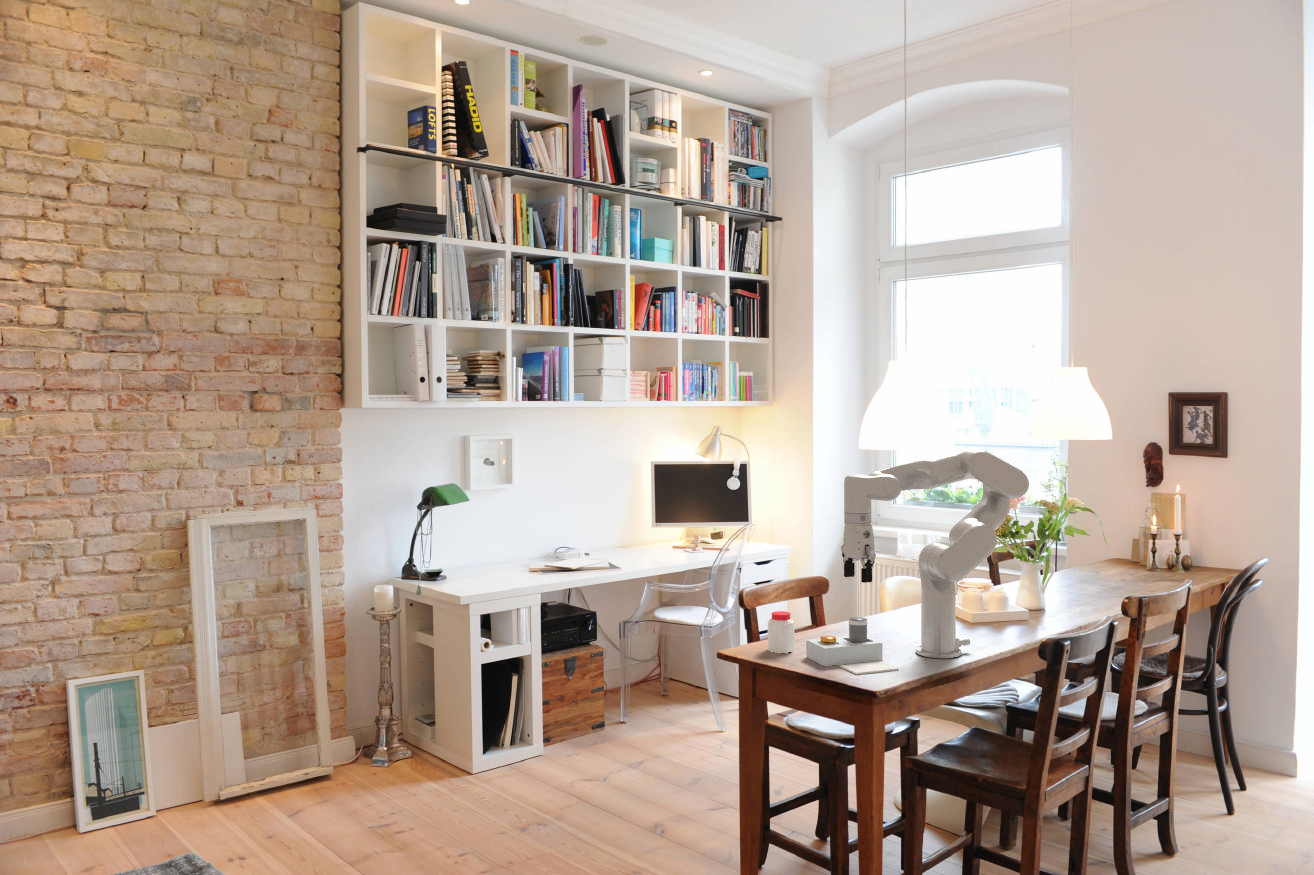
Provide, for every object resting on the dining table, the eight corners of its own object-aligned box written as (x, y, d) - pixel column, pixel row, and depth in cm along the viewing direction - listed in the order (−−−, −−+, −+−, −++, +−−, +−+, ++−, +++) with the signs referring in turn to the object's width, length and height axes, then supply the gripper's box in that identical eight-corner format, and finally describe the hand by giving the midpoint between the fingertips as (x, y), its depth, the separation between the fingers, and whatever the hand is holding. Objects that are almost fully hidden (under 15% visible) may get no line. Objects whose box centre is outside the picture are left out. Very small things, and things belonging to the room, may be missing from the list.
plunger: (831, 656, 287) (831, 635, 287) (839, 660, 283) (839, 638, 283) (817, 657, 285) (817, 636, 285) (825, 661, 281) (825, 639, 281)
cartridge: (861, 654, 291) (861, 616, 290) (871, 658, 286) (870, 620, 285) (845, 656, 289) (845, 617, 288) (854, 660, 284) (854, 621, 284)
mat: (881, 662, 281) (881, 661, 281) (898, 670, 273) (898, 668, 273) (840, 667, 277) (840, 665, 277) (856, 674, 269) (856, 673, 269)
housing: (862, 651, 294) (861, 634, 294) (882, 660, 284) (882, 642, 283) (806, 657, 288) (806, 639, 288) (825, 666, 278) (825, 648, 277)
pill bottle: (792, 647, 300) (791, 610, 300) (796, 653, 293) (796, 615, 292) (766, 647, 300) (765, 610, 300) (769, 653, 292) (769, 616, 292)
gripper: (885, 521, 279) (886, 583, 280) (853, 515, 295) (853, 573, 296) (862, 522, 277) (862, 585, 277) (830, 516, 293) (831, 575, 293)
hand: (857, 579), depth 287 cm, fingers open, 9 cm apart
